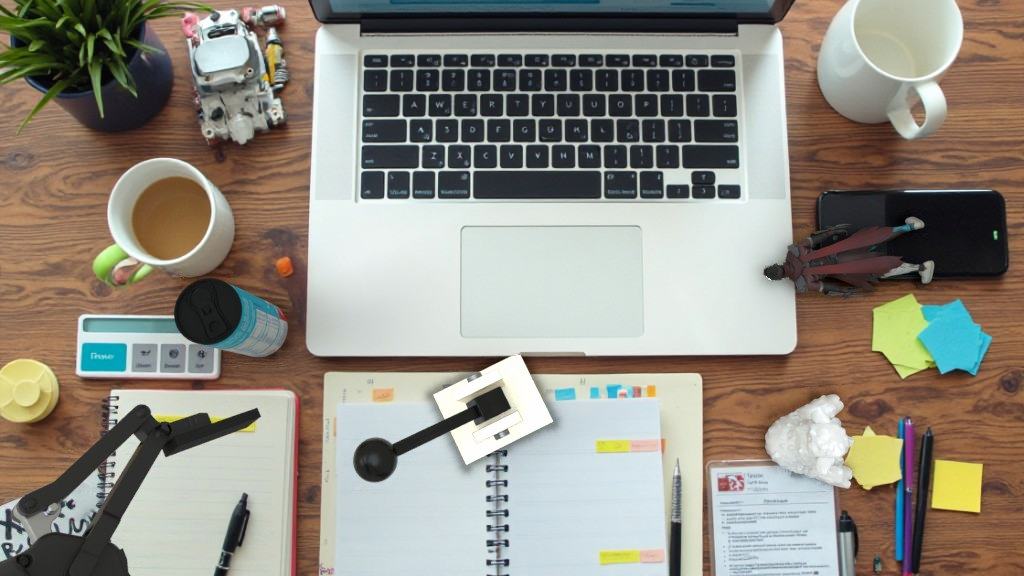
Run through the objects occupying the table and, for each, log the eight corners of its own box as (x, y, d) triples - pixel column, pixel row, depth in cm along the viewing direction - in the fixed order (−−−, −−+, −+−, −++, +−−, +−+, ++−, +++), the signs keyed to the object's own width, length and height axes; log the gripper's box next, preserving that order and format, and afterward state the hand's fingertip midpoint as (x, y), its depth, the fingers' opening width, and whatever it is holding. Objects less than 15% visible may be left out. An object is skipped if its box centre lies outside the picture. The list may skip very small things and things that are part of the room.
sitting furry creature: (849, 487, 79) (906, 499, 67) (765, 493, 79) (808, 506, 67) (836, 394, 80) (890, 389, 69) (753, 399, 80) (793, 396, 69)
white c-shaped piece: (466, 464, 80) (454, 475, 65) (434, 394, 81) (414, 389, 66) (553, 421, 80) (560, 422, 66) (519, 352, 82) (518, 338, 67)
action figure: (904, 219, 84) (745, 244, 83) (934, 199, 78) (763, 226, 77) (926, 289, 82) (763, 316, 81) (958, 274, 76) (783, 303, 75)
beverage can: (282, 295, 83) (231, 269, 68) (297, 347, 82) (248, 332, 67) (229, 313, 83) (166, 290, 68) (243, 365, 82) (182, 353, 67)
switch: (360, 492, 63) (369, 487, 60) (342, 452, 64) (350, 445, 60) (502, 422, 70) (517, 414, 67) (485, 386, 70) (499, 376, 67)
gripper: (-123, 464, 47) (205, 369, 62) (20, 875, 43) (331, 663, 59) (-110, 425, 42) (242, 332, 58) (52, 886, 38) (382, 651, 54)
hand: (288, 499), depth 58 cm, fingers open, 13 cm apart
